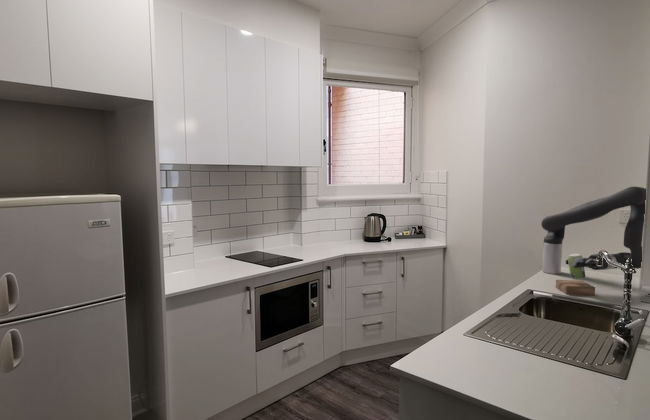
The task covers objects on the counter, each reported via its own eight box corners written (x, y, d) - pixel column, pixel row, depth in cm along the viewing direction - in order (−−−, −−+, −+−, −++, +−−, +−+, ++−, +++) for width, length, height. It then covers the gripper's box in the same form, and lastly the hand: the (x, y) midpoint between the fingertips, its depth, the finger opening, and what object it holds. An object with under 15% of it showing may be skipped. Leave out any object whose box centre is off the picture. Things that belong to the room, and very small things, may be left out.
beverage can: (588, 280, 180) (589, 255, 179) (572, 280, 180) (573, 255, 179) (579, 276, 186) (580, 252, 185) (564, 277, 186) (565, 252, 185)
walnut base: (555, 287, 191) (556, 279, 191) (582, 288, 189) (582, 280, 189) (566, 294, 179) (566, 286, 179) (594, 296, 177) (595, 287, 177)
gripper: (589, 251, 192) (560, 252, 189) (616, 256, 178) (584, 258, 175) (589, 266, 193) (559, 267, 190) (615, 272, 179) (583, 274, 176)
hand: (571, 263), depth 183 cm, fingers closed on beverage can, 5 cm apart
